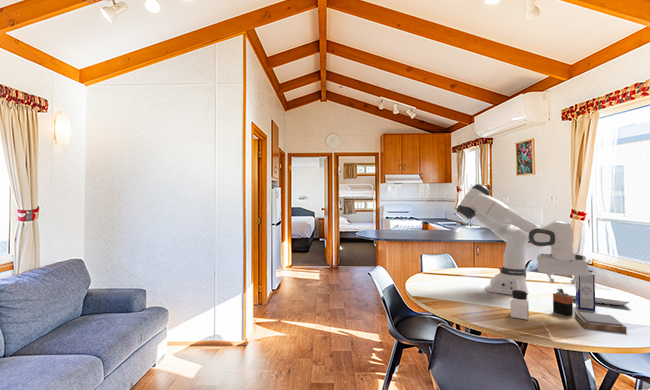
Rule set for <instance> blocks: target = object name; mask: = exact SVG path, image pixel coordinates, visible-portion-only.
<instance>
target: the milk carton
mask: <svg viewBox="0 0 650 390" xmlns="http://www.w3.org/2000/svg"><path fill="white" fill-rule="evenodd" d="M588 269H589V268H588ZM593 272H594V270H592V269H589V274H588V275H587V276H580V275H578V279H577V280H576V281H575V285H576V300H575V306H576V307H577V309H578V310H585V311H593V312H596V303H595V287H596V275H595V273H593Z"/></svg>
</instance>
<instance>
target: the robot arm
mask: <svg viewBox="0 0 650 390" xmlns="http://www.w3.org/2000/svg"><path fill="white" fill-rule="evenodd" d="M456 213H457V214H458V215H459V216H460V217H461V218H462V219H466V220H472V219H473V218H474V219H475V220H477V221H478V222H479V223H480V224H481V225H483V226H484V227H486V228H487V229H489V230H490V231H491V232H492V233H494V234H495V235H496V236H497V237H498V238H500V239H501V240H502V241H504V242H505V244H506V245H505V249H504V252H503V266H498V270H499V273H498V274H496V275H494V276H492V277H491V279H490V281H489V284H487V285H486V286H485V290H486V291H487V292H490V293H496V294H502V295H503V294H505V295H511V296H512V291H513V290H522V291H525V292H526V293H527V295H528V294H529V290H528V286H527V280H526V278H527V269H526V252H527V247H528V243H529V242H530V243H531V244H532V245H534V246H536V247H547V246H549V247H550V253H540V254H537V257H536V261H537V271H538V272H539V273H541V274H546V276H547V277H548V278H549V283H551V284H553V283H555V279H554V278H552V275H565V276H567V275H568V276H569V275H570V276H573V279H570V284H572V285H576V280H577V279H578V275H580V276H587V275H588V274H589V266H588V265H589V264H588V262H587V261H586V259H587V256H585V255H584V254H581V253H578V252H575V251H574V247H573V242H574V231H573V226H572V225H571V224H570V223H568V222H566V221H561V220H553V221H552V222H549V223H547V224H544V225H543V224H538V223H535V222H533V221H531V220H529V218H526V217H523V216H522V215H520V214H519V213H518V212H516V211H514V210H513V209H512V208H511V207H509V205H506V204H505V203H503V202H502V201H500V200H498V199H496V198H494V197H493V196H491V192H490V190H489V188H487V186H485V185H483V184H480V183H479V184H474V185H473V186H472V187H471V189H470V190H469V191H468V192H467V193H466V194H465V195H464V197H463V198H462V200H461V202H460V203H459V205H458V206H457V208H456Z"/></svg>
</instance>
